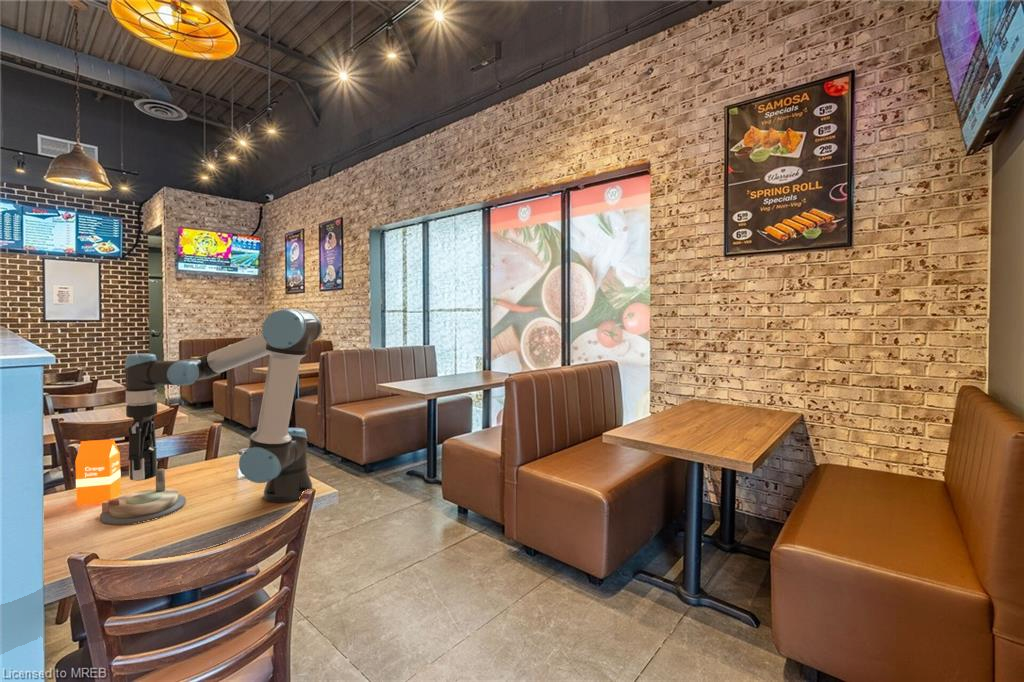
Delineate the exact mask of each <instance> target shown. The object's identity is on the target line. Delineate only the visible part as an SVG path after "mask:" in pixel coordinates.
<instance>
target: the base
mask: <svg viewBox="0 0 1024 682" xmlns="http://www.w3.org/2000/svg"><path fill="white" fill-rule="evenodd" d="M186 500H187V499H186V497H185V496H184V495H181V494H178V502H177V503H176V504H175V505H173V506H171V507H169V508H167V509H165V510H162V511H159V512H156V513H153V514H149V515H144V516H139V517H131V518H115V517H112V516H110V515H109V508H108V501H104V502H102V503H101V513H100V514H99V521H100V523H102V524H104V525H107V526H128V525H129V524H130V525H135V524H134V523H137V524H139V523H138V522H142V523H144V522H143V521H147V520H151V521H153V520H152V519H155V518H158V519H161V518H160V517H162V518H164V517H163V516H165V517H167V516H170V515H171V513H172V514H174V513H176V512H178V511H179V509H180V510H181V509H182V508H184V507H185V506H184V505H186V504H185V503H186V502H187V501H186ZM183 506H184V507H183ZM177 510H178V511H177ZM175 511H176V512H175ZM173 512H174V513H173ZM169 514H170V515H169ZM166 515H167V516H166ZM155 520H156V519H155ZM147 522H148V521H147Z"/></svg>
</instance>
